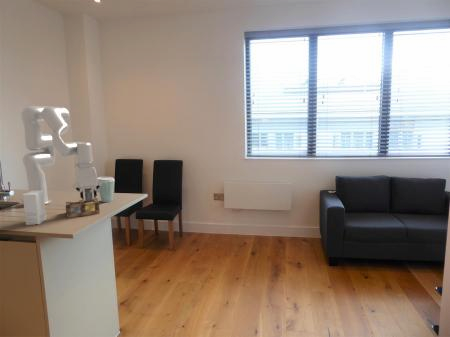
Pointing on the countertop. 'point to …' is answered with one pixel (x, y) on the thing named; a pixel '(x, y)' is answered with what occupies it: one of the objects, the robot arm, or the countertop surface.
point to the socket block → (82, 208)
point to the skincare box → (34, 207)
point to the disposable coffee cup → (106, 188)
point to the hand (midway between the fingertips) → (88, 197)
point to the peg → (88, 195)
